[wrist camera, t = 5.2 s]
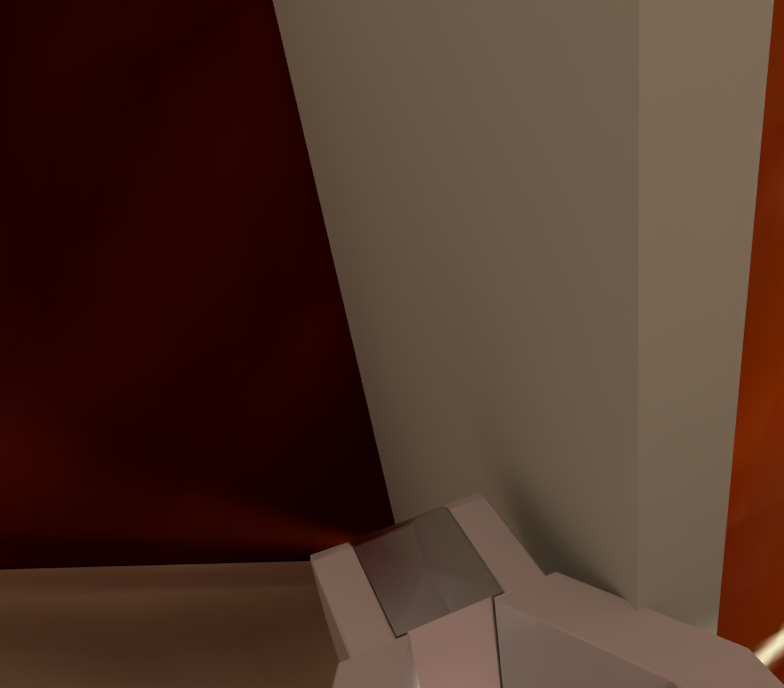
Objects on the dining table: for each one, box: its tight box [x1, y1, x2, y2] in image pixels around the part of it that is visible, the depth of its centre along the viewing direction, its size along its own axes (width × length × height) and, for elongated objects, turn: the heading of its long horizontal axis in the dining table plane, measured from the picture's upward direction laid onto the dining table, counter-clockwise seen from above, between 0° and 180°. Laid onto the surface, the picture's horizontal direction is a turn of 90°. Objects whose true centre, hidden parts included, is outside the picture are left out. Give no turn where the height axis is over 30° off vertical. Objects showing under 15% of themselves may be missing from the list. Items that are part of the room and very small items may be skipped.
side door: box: [273, 0, 774, 635], centre depth 14 cm, size 2×17×12 cm, turn 10°
